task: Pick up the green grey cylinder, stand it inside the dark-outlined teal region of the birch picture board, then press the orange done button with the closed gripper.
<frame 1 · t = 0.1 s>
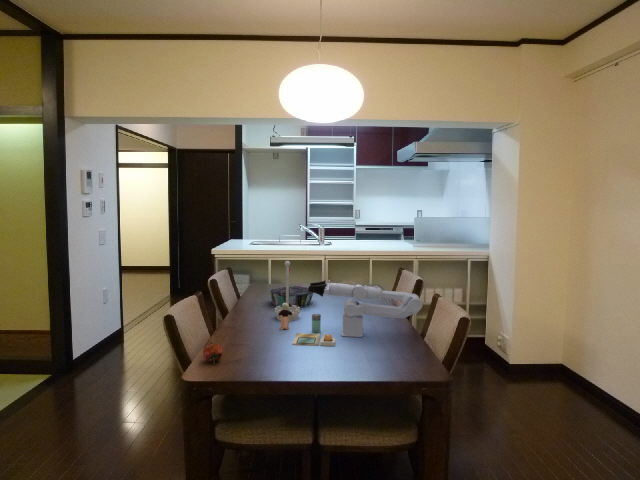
hand: (309, 286, 197), 22 cm above the table, tool horizontal, fingers open, 7 cm apart
grandmother figurine: (285, 329, 205), on the table
button housing: (328, 343, 185), on the table
pomegranate: (213, 362, 163), on the table
picture board: (307, 339, 190), on the table
decorative bowl: (291, 304, 254), on the table
flag stand: (287, 318, 224), on the table
green grey cylinder: (316, 331, 201), on the table
done button: (328, 338, 185), point 2 cm above the table, slide at 0.0 cm
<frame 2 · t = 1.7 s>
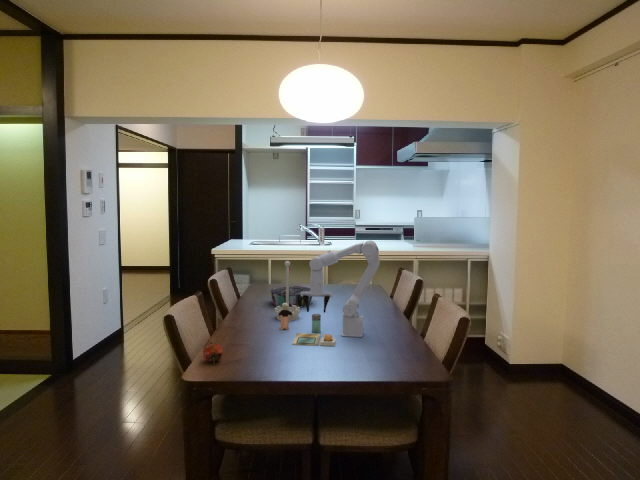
hand: (316, 311, 200), 9 cm above the table, tool pointing down, fingers open, 7 cm apart
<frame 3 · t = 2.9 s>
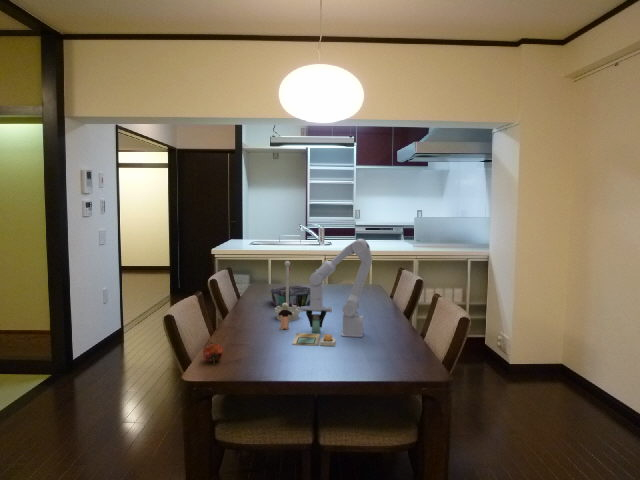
hand: (316, 326, 201), 2 cm above the table, tool pointing down, fingers closed on green grey cylinder, 4 cm apart
green grey cylinder: (316, 331, 201), on the table, touching gripper
when the fingers open (4 cm above the table, at t = 6.6 s): green grey cylinder drops 1 cm, resting on picture board.
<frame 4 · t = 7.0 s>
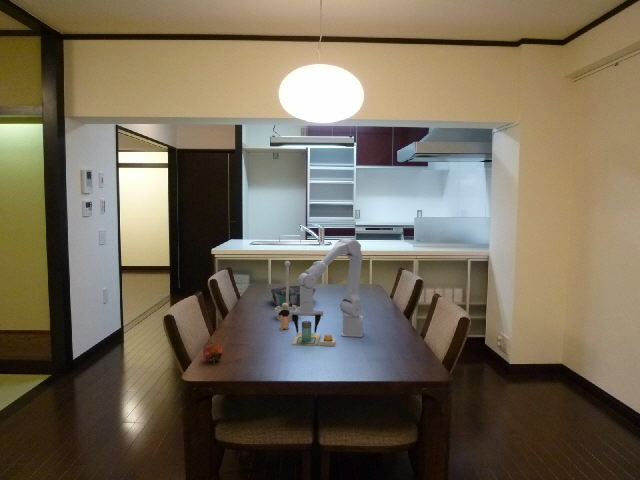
hand: (306, 332, 186), 4 cm above the table, tool pointing down, fingers open, 7 cm apart
green grey cylinder: (306, 340, 187), point 1 cm above the table, touching picture board
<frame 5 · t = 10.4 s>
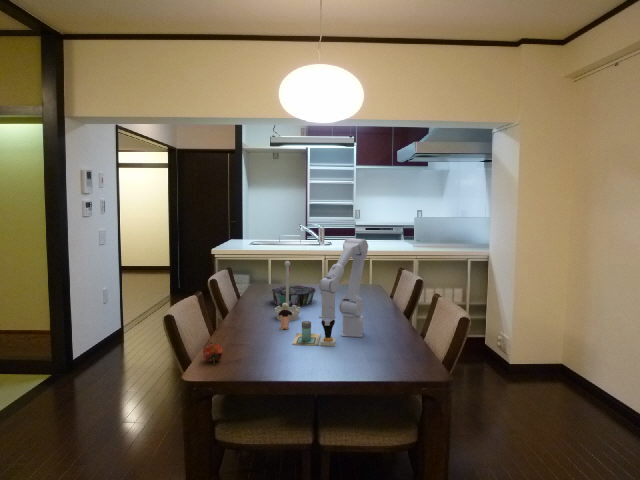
hand: (328, 337, 185), 3 cm above the table, tool pointing down, fingers closed, pressing on done button
done button: (328, 339, 185), point 2 cm above the table, slide at 0.8 cm, touching gripper
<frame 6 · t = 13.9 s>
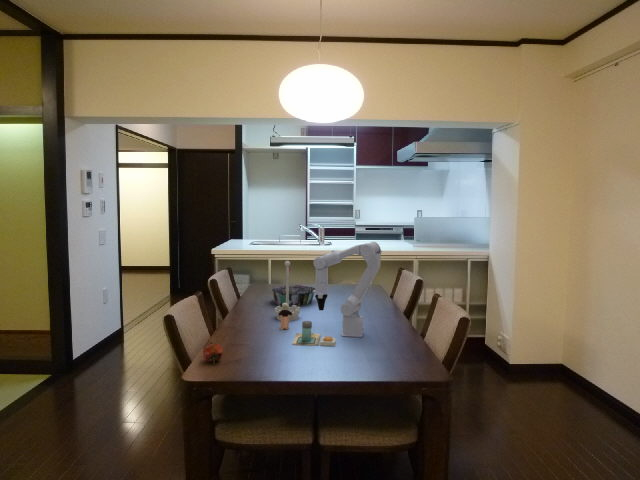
hand: (321, 310, 204), 9 cm above the table, tool pointing down, fingers closed
done button: (328, 340, 185), point 2 cm above the table, slide at 0.9 cm
at the end: green grey cylinder 0.1 cm from the target spot, point 0.8 cm above the table; green grey cylinder tilted 2°; done button slide at 0.9 cm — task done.
